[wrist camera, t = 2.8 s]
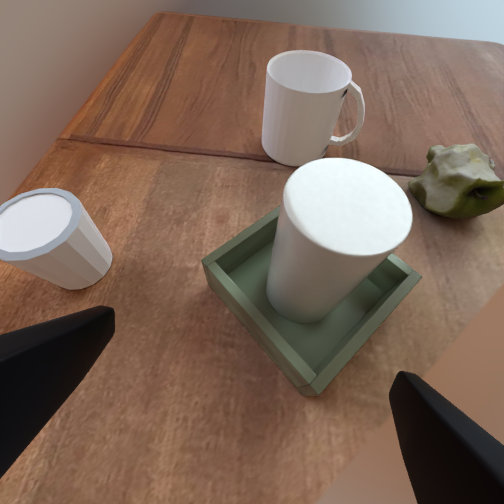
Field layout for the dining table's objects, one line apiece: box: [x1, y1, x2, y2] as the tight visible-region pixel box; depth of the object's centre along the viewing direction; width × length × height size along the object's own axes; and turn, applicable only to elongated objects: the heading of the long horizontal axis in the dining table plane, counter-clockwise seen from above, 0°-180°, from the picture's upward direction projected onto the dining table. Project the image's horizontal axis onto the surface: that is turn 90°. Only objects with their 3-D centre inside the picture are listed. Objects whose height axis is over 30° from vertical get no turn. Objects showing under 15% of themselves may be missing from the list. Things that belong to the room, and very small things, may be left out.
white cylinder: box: [265, 158, 413, 323], centre depth 19 cm, size 7×7×12 cm
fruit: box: [408, 144, 504, 219], centre depth 28 cm, size 9×9×8 cm
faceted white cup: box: [0, 188, 113, 290], centre depth 22 cm, size 7×7×7 cm
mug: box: [262, 50, 365, 167], centre depth 31 cm, size 12×9×9 cm
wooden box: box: [201, 205, 422, 396], centre depth 22 cm, size 13×13×5 cm
